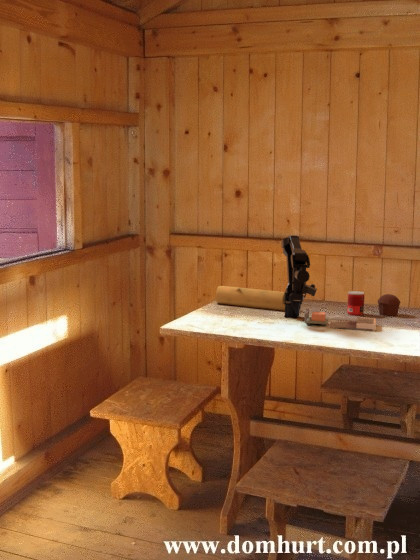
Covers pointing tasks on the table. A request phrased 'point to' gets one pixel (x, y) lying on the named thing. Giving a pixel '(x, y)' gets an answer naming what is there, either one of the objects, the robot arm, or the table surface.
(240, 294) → the log
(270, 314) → the table surface
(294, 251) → the robot arm
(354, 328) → the dock
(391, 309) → the muffin
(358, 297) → the canned food
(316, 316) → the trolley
